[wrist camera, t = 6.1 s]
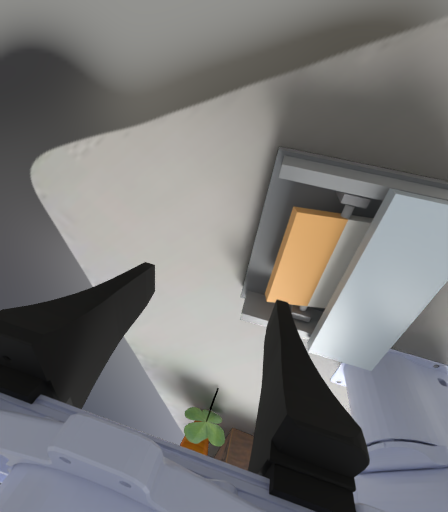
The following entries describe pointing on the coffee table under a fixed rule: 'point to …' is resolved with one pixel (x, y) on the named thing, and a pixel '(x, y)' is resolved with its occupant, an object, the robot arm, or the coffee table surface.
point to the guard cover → (386, 281)
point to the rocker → (315, 255)
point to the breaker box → (318, 198)
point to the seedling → (204, 426)
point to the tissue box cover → (236, 449)
